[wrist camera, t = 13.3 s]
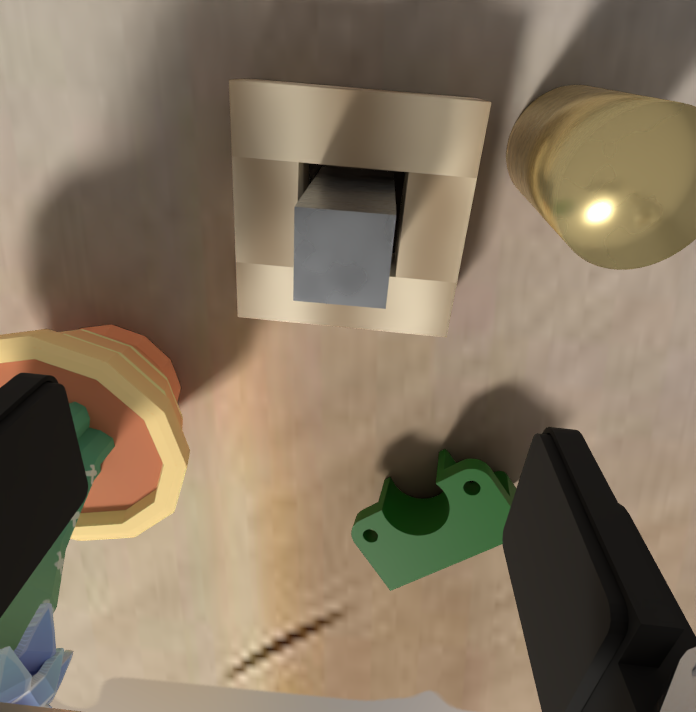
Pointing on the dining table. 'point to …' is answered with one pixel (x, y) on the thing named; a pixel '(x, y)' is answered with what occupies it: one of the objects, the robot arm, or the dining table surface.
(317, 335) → the dining table surface
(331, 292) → the square bit
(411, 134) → the socket block
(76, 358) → the potted cactus
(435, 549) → the clamp
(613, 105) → the round bit
